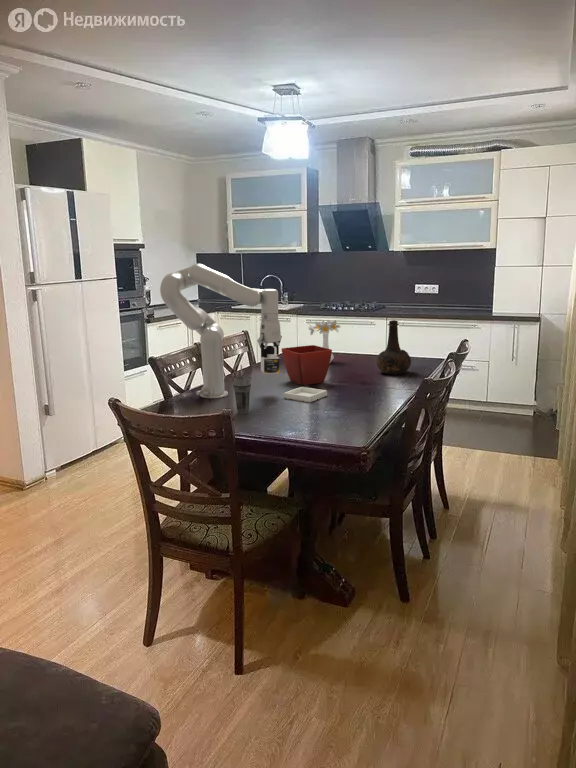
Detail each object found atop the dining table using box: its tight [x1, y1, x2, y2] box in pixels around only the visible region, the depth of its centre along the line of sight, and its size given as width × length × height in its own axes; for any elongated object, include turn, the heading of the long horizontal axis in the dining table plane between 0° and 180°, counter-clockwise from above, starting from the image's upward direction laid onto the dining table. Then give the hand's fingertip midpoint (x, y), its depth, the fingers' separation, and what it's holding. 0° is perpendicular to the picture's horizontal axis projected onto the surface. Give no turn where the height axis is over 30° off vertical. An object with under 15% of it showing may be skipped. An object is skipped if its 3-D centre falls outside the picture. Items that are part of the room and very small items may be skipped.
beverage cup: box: [232, 364, 252, 415], centre depth 235 cm, size 7×7×20 cm
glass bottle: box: [375, 319, 412, 376], centre depth 306 cm, size 18×18×28 cm
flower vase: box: [308, 319, 341, 364], centre depth 338 cm, size 13×18×25 cm
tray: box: [283, 386, 328, 404], centre depth 261 cm, size 14×14×2 cm
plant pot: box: [281, 344, 333, 386], centre depth 289 cm, size 19×19×17 cm
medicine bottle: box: [260, 345, 280, 375], centre depth 263 cm, size 7×7×12 cm
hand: (269, 355), depth 263 cm, fingers closed on medicine bottle, 7 cm apart
